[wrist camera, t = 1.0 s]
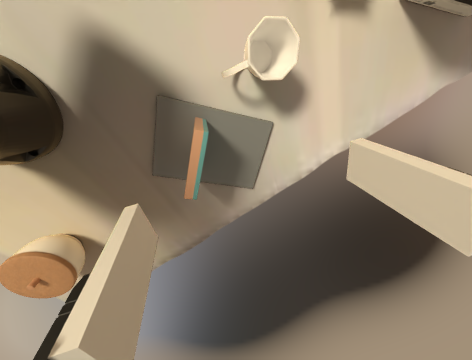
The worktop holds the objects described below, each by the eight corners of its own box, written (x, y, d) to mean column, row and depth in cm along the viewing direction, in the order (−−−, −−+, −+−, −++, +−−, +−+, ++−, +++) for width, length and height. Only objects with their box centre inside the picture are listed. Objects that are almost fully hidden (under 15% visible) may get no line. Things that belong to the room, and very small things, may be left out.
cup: (282, 71, 32) (306, 67, 25) (229, 98, 32) (237, 101, 25) (269, 21, 29) (293, 1, 21) (209, 52, 29) (213, 42, 22)
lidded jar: (33, 260, 40) (-10, 306, 31) (32, 220, 36) (-18, 261, 27) (93, 266, 43) (68, 309, 35) (97, 229, 39) (70, 268, 31)
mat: (153, 174, 36) (152, 175, 35) (158, 95, 30) (157, 95, 30) (252, 187, 41) (252, 188, 41) (272, 121, 35) (273, 122, 35)
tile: (187, 170, 36) (184, 198, 27) (195, 116, 32) (194, 129, 23) (196, 171, 37) (196, 199, 28) (205, 119, 33) (208, 132, 24)
